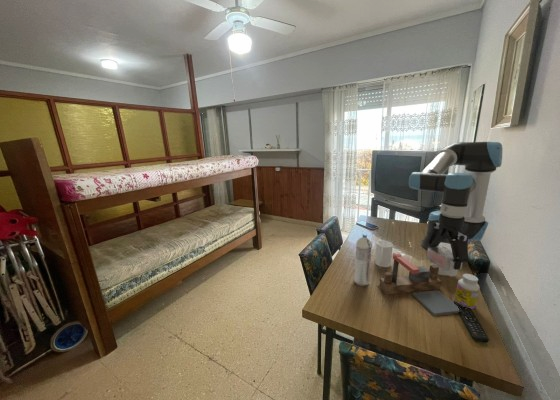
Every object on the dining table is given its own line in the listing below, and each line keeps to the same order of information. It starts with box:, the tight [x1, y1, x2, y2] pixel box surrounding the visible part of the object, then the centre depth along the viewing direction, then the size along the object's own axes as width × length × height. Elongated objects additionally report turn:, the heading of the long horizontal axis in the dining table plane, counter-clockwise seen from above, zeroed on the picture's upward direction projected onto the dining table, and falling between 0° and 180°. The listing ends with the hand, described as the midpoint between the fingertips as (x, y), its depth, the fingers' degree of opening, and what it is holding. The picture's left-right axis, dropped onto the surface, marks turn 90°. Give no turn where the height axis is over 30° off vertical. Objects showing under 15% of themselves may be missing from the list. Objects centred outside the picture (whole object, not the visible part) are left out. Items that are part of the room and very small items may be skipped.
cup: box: [432, 242, 452, 276], centre depth 111 cm, size 12×12×14 cm
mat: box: [412, 289, 460, 316], centre depth 91 cm, size 12×12×1 cm
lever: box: [392, 252, 419, 274], centre depth 92 cm, size 13×3×2 cm, turn 8°
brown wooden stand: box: [379, 259, 442, 295], centre depth 100 cm, size 26×6×15 cm, turn 96°
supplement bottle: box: [454, 273, 480, 310], centre depth 89 cm, size 7×7×13 cm
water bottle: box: [353, 233, 373, 287], centre depth 103 cm, size 7×7×25 cm
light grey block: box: [425, 247, 464, 271], centre depth 86 cm, size 7×9×5 cm
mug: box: [374, 239, 394, 268], centre depth 119 cm, size 12×8×12 cm
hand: (442, 268), depth 87 cm, fingers closed on light grey block, 9 cm apart
